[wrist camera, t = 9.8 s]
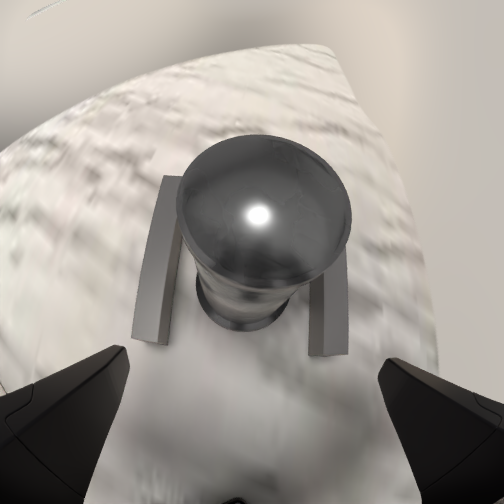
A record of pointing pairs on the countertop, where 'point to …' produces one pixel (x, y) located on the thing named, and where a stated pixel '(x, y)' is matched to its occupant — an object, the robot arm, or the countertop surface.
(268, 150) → the dark grey flanged cylinder
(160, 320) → the u-shaped bracket
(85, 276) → the countertop surface
